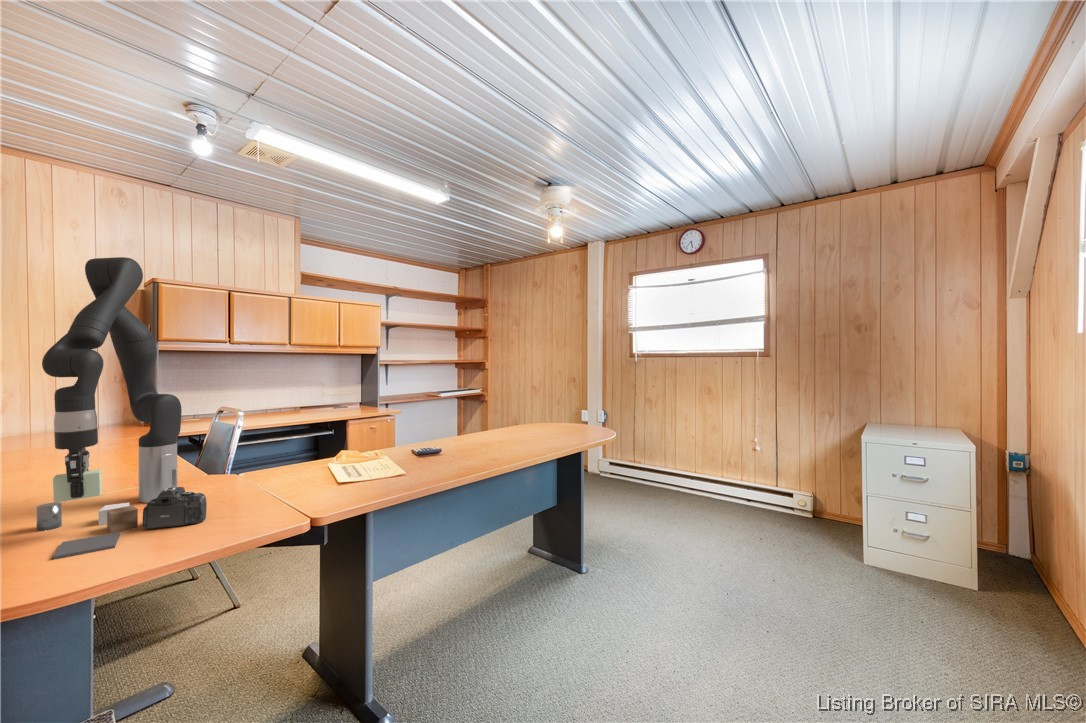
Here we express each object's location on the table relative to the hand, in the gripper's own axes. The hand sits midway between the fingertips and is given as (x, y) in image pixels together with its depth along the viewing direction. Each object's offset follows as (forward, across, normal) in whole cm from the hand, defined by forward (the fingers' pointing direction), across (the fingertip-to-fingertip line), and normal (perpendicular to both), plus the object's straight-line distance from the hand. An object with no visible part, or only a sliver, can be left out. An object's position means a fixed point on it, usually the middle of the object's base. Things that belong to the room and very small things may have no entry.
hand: (78, 494), depth 112 cm
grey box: (+10, +6, -6) cm, 13 cm away
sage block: (+1, 0, 0) cm, 1 cm away
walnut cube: (+10, -2, -8) cm, 13 cm away
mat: (+10, -12, -3) cm, 16 cm away
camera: (+11, -7, -19) cm, 22 cm away
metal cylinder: (+10, +10, +7) cm, 16 cm away
